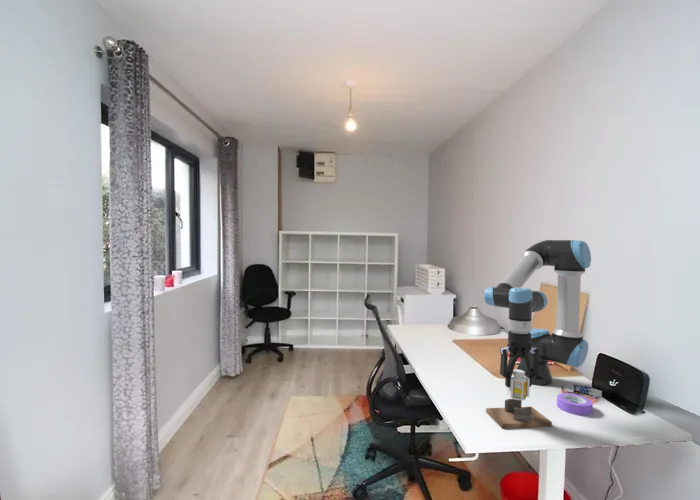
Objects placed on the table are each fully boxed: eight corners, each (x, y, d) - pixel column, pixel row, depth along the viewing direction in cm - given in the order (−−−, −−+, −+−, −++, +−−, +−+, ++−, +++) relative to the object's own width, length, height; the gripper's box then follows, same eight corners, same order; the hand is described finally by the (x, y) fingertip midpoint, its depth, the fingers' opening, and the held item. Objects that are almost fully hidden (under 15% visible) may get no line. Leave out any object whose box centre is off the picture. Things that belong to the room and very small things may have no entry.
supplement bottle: (514, 401, 130) (515, 374, 130) (506, 394, 136) (507, 368, 136) (529, 400, 131) (530, 373, 131) (520, 394, 136) (521, 368, 136)
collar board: (531, 410, 140) (531, 396, 140) (551, 426, 129) (552, 410, 128) (485, 412, 139) (486, 397, 139) (502, 428, 127) (502, 412, 127)
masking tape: (568, 400, 151) (568, 390, 151) (599, 412, 140) (599, 402, 140) (550, 405, 145) (550, 396, 145) (580, 418, 135) (580, 408, 135)
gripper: (500, 334, 128) (498, 400, 129) (550, 333, 130) (548, 399, 130) (490, 329, 136) (488, 392, 136) (537, 328, 137) (536, 390, 138)
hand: (518, 395), depth 133 cm, fingers closed on supplement bottle, 5 cm apart
